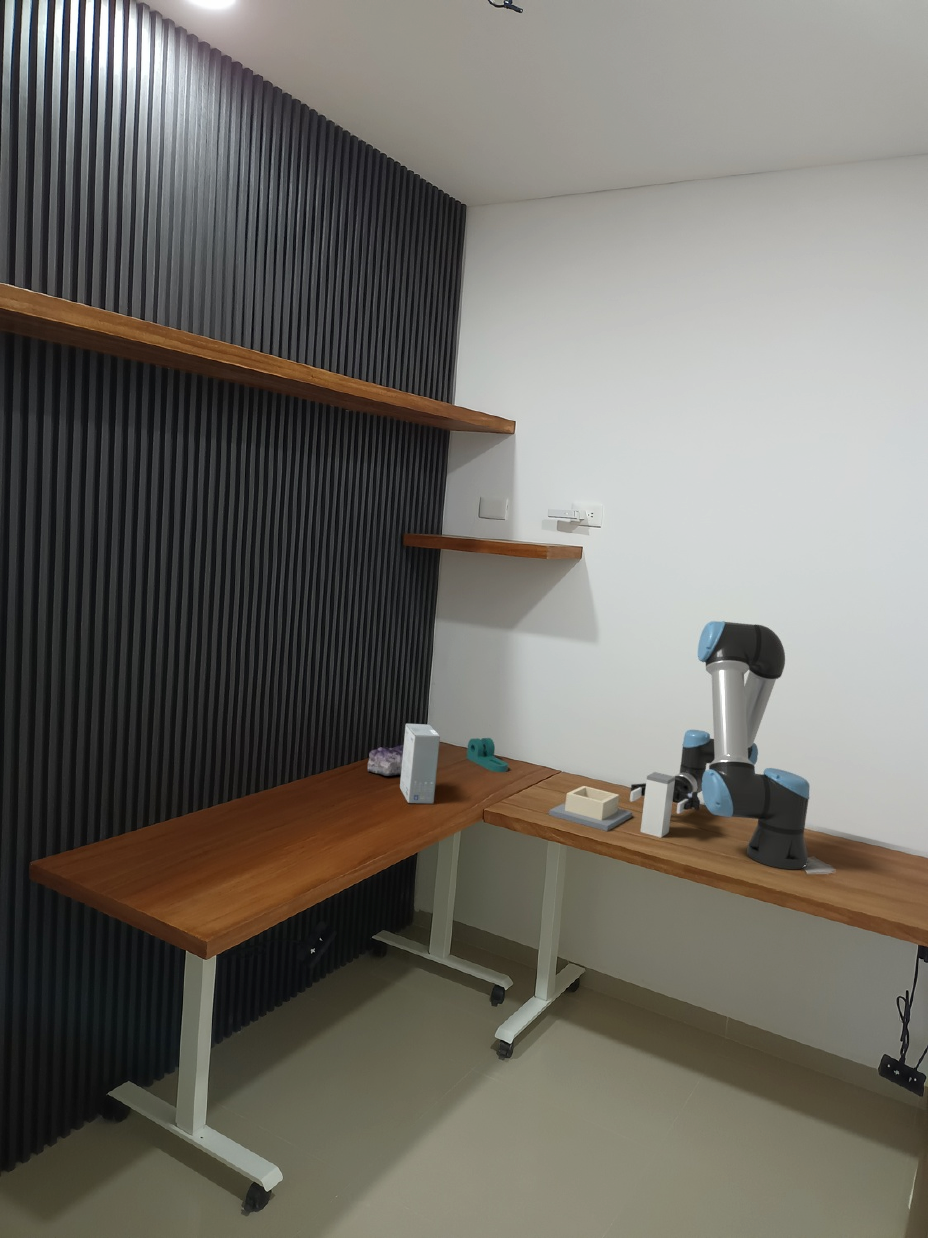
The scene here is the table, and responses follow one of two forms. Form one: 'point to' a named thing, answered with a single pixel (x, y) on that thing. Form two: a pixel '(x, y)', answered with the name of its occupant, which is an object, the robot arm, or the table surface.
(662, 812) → the white grey-topped block
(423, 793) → the hard drive box
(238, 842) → the table surface
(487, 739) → the bracket
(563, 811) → the holder
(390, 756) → the geode
